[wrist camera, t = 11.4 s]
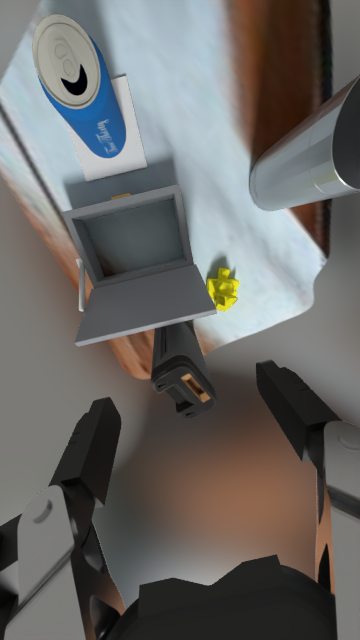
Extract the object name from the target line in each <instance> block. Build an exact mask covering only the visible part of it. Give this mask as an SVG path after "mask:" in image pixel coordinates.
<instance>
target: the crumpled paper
mask: <svg viewBox="0 0 360 640" xmlns="http://www.w3.org/2000/svg"><path fill="white" fill-rule="evenodd" d="M229 275H230V270H229V269H227V268H219V271H218V279H207V290H208V292H209V294H210V296H211V298H212V299H214V300H215V304H214V305H215V307H216V309H218V310H221V311H226V310H228V309H229V308H230V307H231V306H232V305H233V304H234V303H235V302H236V301H237V299H238V298H237V297H236V295H237V291H236V290H237V288H238V286H239V281H238V280H236V279H228V277H229Z"/></svg>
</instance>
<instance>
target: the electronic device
mask: <svg viewBox="0 0 360 640" xmlns="http://www.w3.org/2000/svg"><path fill="white" fill-rule="evenodd" d="M151 386H152V388H153V389H154V391H155V392H157V393H161V392H163V391H166V392H167V393H168V394H169V395H170V396H171V397H172V398H173V399H174V400H175V401H176V412H177V413H178V414H179V415H181V416H183V417H185V418H192V417H195V416H197V415H199V414H200V413H202V412H204V411H206V410H208V409H210V408H211V407H213V406H214V405H215V404H216V402H217V396H216V393H215V390H214V387H213V384H212V382H211V379H210V376H209V373H208V370H207V367H206V364H205V361H204V358H203V355H202V352H201V349H200V346H199V343H198V340H197V337H196V335H195V332H194V329H193V328H192V327H191V325H190V324H189V322H188V321H184V322H179V323H175V324H171V325H167V326H163V327H158V328H155V334H154V347H153V360H152V373H151Z"/></svg>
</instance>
